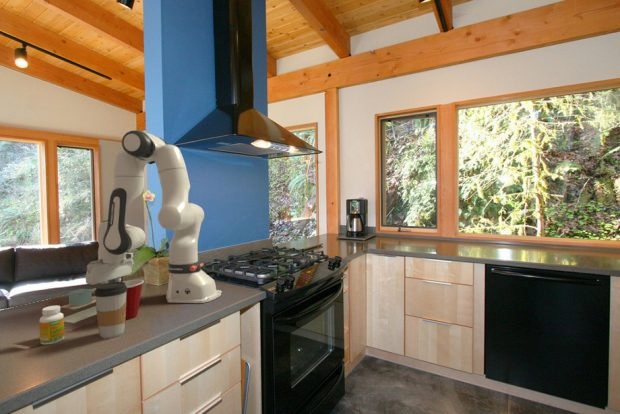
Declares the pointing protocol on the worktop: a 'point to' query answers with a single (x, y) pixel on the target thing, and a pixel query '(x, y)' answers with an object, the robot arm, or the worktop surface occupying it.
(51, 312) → the supplement bottle
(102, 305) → the coffee cup
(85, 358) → the worktop surface
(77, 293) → the teal block
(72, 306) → the oak strip
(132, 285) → the plastic cup
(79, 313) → the grey block
